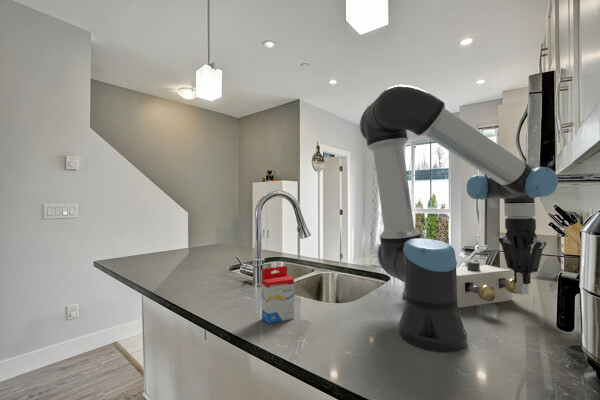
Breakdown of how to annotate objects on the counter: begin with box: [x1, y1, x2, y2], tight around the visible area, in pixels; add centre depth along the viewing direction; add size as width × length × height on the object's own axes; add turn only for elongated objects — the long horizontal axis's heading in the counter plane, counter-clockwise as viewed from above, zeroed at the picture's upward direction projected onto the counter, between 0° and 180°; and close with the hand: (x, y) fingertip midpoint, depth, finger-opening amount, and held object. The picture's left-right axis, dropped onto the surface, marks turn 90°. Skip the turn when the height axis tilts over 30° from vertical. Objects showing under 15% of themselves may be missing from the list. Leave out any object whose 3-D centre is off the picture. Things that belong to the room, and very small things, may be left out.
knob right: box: [499, 277, 519, 295], centre depth 92 cm, size 4×9×4 cm, turn 16°
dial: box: [466, 261, 481, 271], centre depth 94 cm, size 4×4×3 cm
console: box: [456, 264, 513, 309], centre depth 94 cm, size 22×9×10 cm, turn 106°
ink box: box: [261, 265, 295, 325], centre depth 81 cm, size 8×5×15 cm, turn 117°
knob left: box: [465, 283, 496, 302], centre depth 85 cm, size 4×9×4 cm, turn 16°
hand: (522, 293), depth 86 cm, fingers closed
